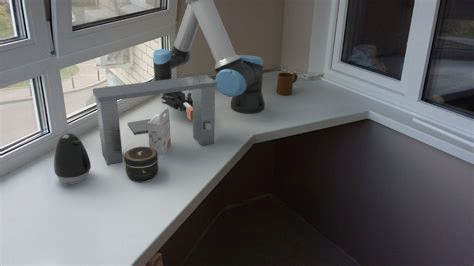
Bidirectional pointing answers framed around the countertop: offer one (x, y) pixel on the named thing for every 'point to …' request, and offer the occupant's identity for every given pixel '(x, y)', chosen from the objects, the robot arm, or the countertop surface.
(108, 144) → the grey gantry arch
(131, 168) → the jar
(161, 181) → the countertop surface
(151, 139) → the ink cartridge box
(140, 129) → the mat
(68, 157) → the black egg-shaped piece
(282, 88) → the mug
